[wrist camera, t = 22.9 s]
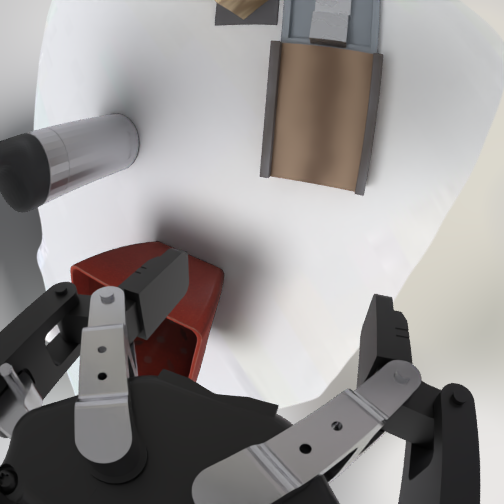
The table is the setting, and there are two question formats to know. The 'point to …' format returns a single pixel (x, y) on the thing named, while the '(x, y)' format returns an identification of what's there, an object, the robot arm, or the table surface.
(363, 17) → the tray
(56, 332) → the lightbulb
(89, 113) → the table surface
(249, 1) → the tall wooden block
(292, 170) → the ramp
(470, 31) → the table surface
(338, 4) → the chip
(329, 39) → the chip
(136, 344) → the plant pot
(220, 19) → the mat
